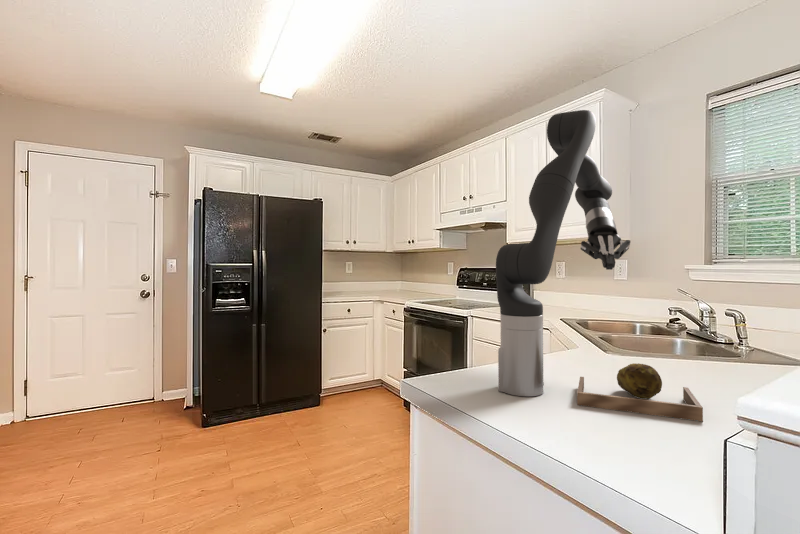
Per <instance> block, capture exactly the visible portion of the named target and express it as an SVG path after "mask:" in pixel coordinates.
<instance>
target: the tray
mask: <svg viewBox="0 0 800 534" xmlns="http://www.w3.org/2000/svg"><path fill="white" fill-rule="evenodd" d="M682 388H683V389H682V392H683V395H682V396H683V398H682V399H683V400H684V402H685V403H680V402H679V403H678V402H672V401H671V402H669V401H659V400H651V399H641V398H637V397H626V396H620V395H609V394H602V393H592V392H584V391H585V377H584V376H579V382H578V387H577V391H576V392H577V393H576V395H577V396H576V397H577V398H576V399H577V400H576V401H577V402H576V403H577V406H581V405H582V407H590V408H591V407H592V408H598V409H603V410H604V409H605V410H612V411H613V410H614V411H618V412H619V411H621V412H628V413H637V414H643V415H652V416H657V415H658V416H659V417H665V416H666V418H667V417H668V418H672V417H674V418H673V419H680V418H682V420H688V419H690V420H689V421H695V420H698V421H697V422H703V421H704V411H703V410H704V409H703V406H702V404H701V403H700V402H699V401H698V399H697V398H696V396H695V395H694V394H693V393H692V391H691V390H690V388H689V387H687V386H686V387H685V386H684V387H682Z"/></svg>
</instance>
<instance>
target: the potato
mask: <svg viewBox="0 0 800 534" xmlns="http://www.w3.org/2000/svg"><path fill="white" fill-rule="evenodd" d="M616 380H617V381H616V382H617V384H618V386H619V387H620V388H621V389H622V390H623V391H625V392H626V393H628V394H629V395H631V396H632V397H634V398H637V399H645V400H651V398H653V397H655V396H657V394H660V392H661V391H662V387H663V381H662V377H661V375H660V374H659V372H658V371H657V370H656V369H655V368H654V367H653V366H651V365H648V364H646V363H645V364H644V363H630V364H628V365H626V366H624V367H622V368H620V369H619V370H618V371H617V374H616Z"/></svg>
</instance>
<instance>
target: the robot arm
mask: <svg viewBox="0 0 800 534" xmlns="http://www.w3.org/2000/svg"><path fill="white" fill-rule="evenodd" d="M596 125H597V120H596V116H595V114H594V112H592V111H591V110H586V109H582V110H580V109H579V110H571V111H565V112H560V113H555V114H553V115H551V117H550V118H549V120H548V122H547V127H546V137H547V140H548V144H549V145H550V147H551V149H553V151H554V153H555V154H556V155H557V156H556V157H555V158H553V160H551V161H549V163H548V164H546V165H545V166H544V167H542V169H541V170H540V171H539V172H538V174H537V175H536V176H535V179H534V181H533V184H532V188H531V190H530V192H529V196H528V203H529V208H530V212H531V213H532V216H533V218H534V221H535V224H536V228H535V231H534V234H533V236H532V239H531V241H529V242H523V243H522V242H521V243H510V244H509V243H508V244H505V245H501V247H500V248H499V250H498V251H497V253H496V258H495V277H496V279H495V280H496V293H497V294H496V295H497V303H498V305H499V308H500V309H499V310H500V317H499V318H500V347H498V350H497V351H498V352H497V354H498V355H497V357H498V361H497V362H498V365H497V366H498V375H497V377H498V381H497V382H498V392H501V393H506V394H508V395H512V396H517V397H518V396H519V397H535V396H536V397H537V396H541V395H543V394H544V384H545V383H544V307H543V303H542V302H541V301H540V300H538V299H535V298H534V297H532V296H530V295H529V294H527V292H526V291H525V290H524V285H538V284H539V285H540V284H542V283H544V282H545V281H546V279H547V278H548V276H549V274H550V271H551V270H552V265H553V261H554V256H555V252H556V247H557V243H558V238H559V233H560V229H561V226H562V224H563V220H564V216H565V214H566V211H567V208H568V205H569V203H570V200H571V197H572V194H573V191H574V188H575V186H576V187H577V188H576V189H575V192H574V197H575V200H576V202H577V204H578V205H579V206H580V207H581V208H582V210H583V211H584V216H585V229H586V232H587V237H588V238H587V240H586V241H585V240H582V241H581V243H580V250H581V251H582V252H583V253H585V254H587V255H588V256H590V257H591V258H592V259H594V260H598V259H599V260H601V264H602V267H603V268H604V269H605V270H609V271H610V270H614V269H613V268H615V266H616V260H619V259H620V258H621V257H622V256H623V255H624V254H625V253H626V252H627V251H629V249H630V245H631V240H629V239H626V240H623V239H622V237H621V236H619V232H618V230H617V225H616V223H615V222H616V221H615V218H614V215H613V214H612V210H611V207H610V204H609V202H608V200H610V199H611V197H612V195H613V189H612V186H611V184H610V182H609V181H608V180H607V179H606V178H605V177H603V176H602V175H601V174H600V171H599V168H598V165H597V163H596V161H595V160H594V159H593V158H592V157H591V156H590V155H588V154H587V153H588V151H589V148H590V147H591V145H592V141H593V139H594V135H595V133H596ZM617 247H618V248H617ZM615 249H616V250H615Z"/></svg>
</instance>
